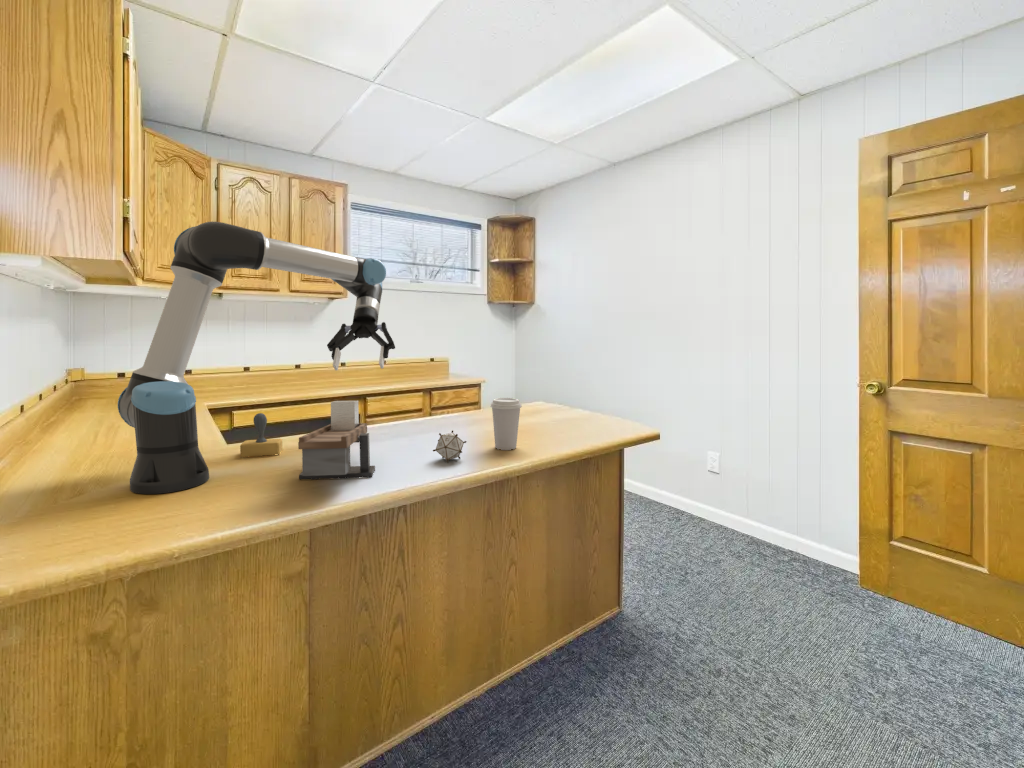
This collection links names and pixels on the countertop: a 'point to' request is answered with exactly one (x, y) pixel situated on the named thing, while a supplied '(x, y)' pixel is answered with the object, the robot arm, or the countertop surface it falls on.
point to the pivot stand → (354, 471)
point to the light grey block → (344, 415)
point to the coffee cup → (506, 422)
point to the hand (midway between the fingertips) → (358, 366)
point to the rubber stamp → (260, 441)
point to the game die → (449, 446)
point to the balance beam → (328, 450)
